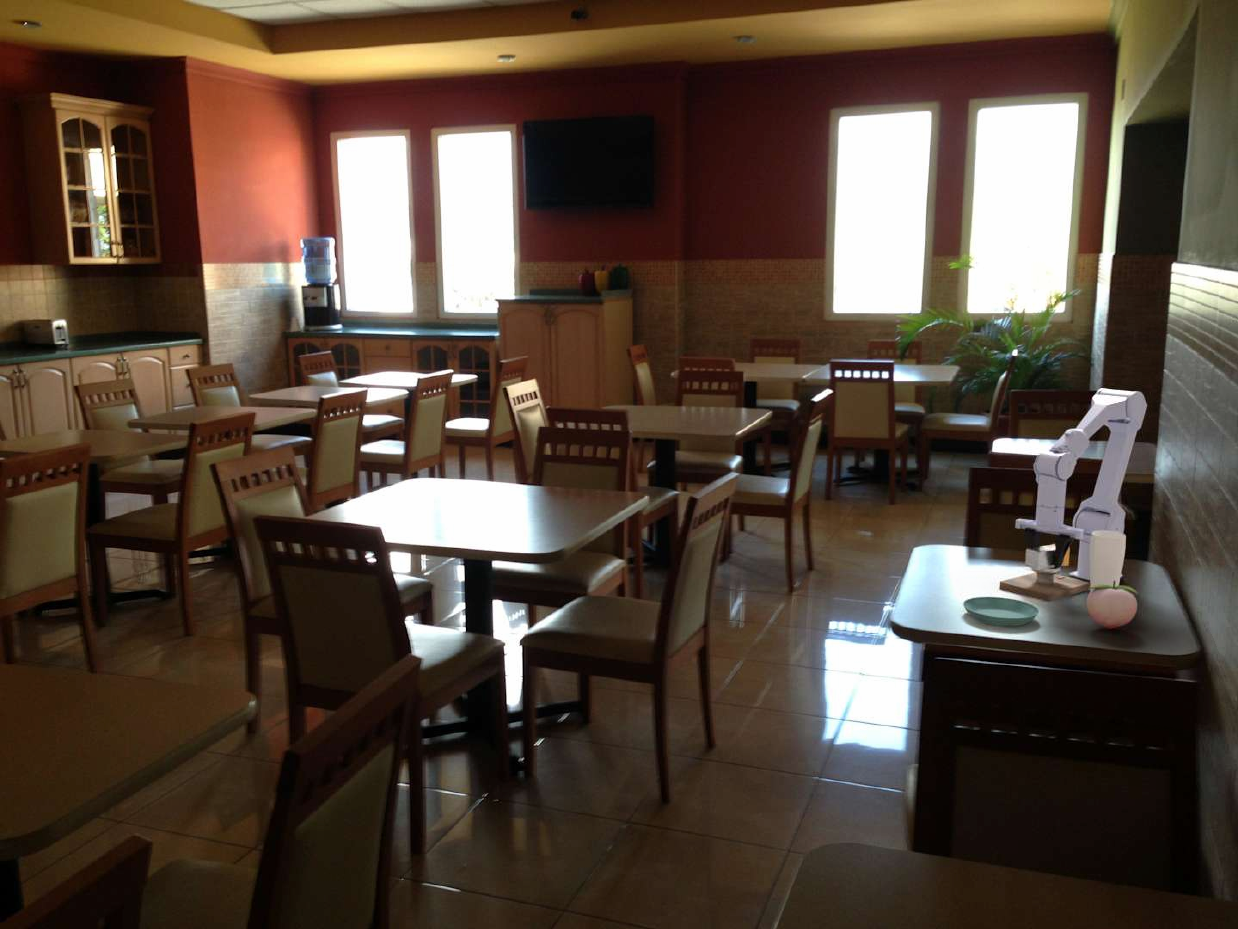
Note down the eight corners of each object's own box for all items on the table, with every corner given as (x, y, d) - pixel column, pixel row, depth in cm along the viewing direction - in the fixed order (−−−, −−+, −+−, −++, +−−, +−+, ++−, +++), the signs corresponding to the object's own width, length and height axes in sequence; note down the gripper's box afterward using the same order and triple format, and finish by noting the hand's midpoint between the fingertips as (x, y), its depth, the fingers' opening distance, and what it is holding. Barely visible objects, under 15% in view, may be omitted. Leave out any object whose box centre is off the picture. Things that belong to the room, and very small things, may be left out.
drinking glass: (1080, 601, 224) (1086, 533, 221) (1092, 594, 229) (1098, 528, 226) (1113, 608, 219) (1119, 539, 216) (1124, 601, 224) (1131, 534, 221)
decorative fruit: (1095, 636, 202) (1099, 586, 200) (1078, 622, 210) (1082, 575, 208) (1144, 637, 201) (1149, 587, 199) (1126, 623, 209) (1130, 575, 208)
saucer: (1041, 614, 216) (1041, 601, 216) (1035, 635, 203) (1036, 622, 202) (967, 604, 222) (968, 592, 222) (957, 624, 209) (958, 611, 209)
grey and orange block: (1020, 569, 233) (1022, 547, 232) (1050, 565, 237) (1052, 542, 236) (1041, 576, 227) (1043, 553, 227) (1071, 571, 231) (1073, 548, 230)
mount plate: (1041, 576, 242) (1042, 560, 241) (1089, 589, 232) (1090, 572, 232) (999, 588, 233) (1000, 570, 233) (1047, 601, 223) (1048, 583, 223)
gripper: (1010, 502, 232) (1006, 561, 234) (1075, 513, 222) (1070, 574, 224) (1025, 498, 237) (1020, 555, 239) (1089, 508, 226) (1084, 568, 229)
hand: (1045, 564), depth 232 cm, fingers closed on grey and orange block, 5 cm apart
